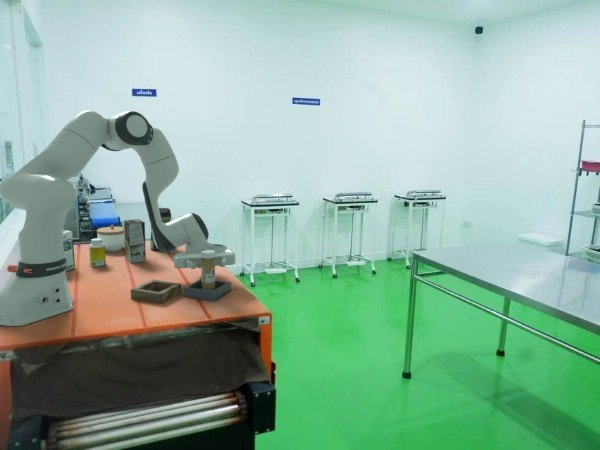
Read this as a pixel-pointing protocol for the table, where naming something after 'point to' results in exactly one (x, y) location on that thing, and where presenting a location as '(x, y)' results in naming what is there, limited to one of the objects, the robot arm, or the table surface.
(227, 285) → the tray
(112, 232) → the lidded bowl
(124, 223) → the coffee box
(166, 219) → the coffee jar
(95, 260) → the supplement bottle
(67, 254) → the syrup box
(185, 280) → the table surface
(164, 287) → the socket block
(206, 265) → the sprinkles bottle
